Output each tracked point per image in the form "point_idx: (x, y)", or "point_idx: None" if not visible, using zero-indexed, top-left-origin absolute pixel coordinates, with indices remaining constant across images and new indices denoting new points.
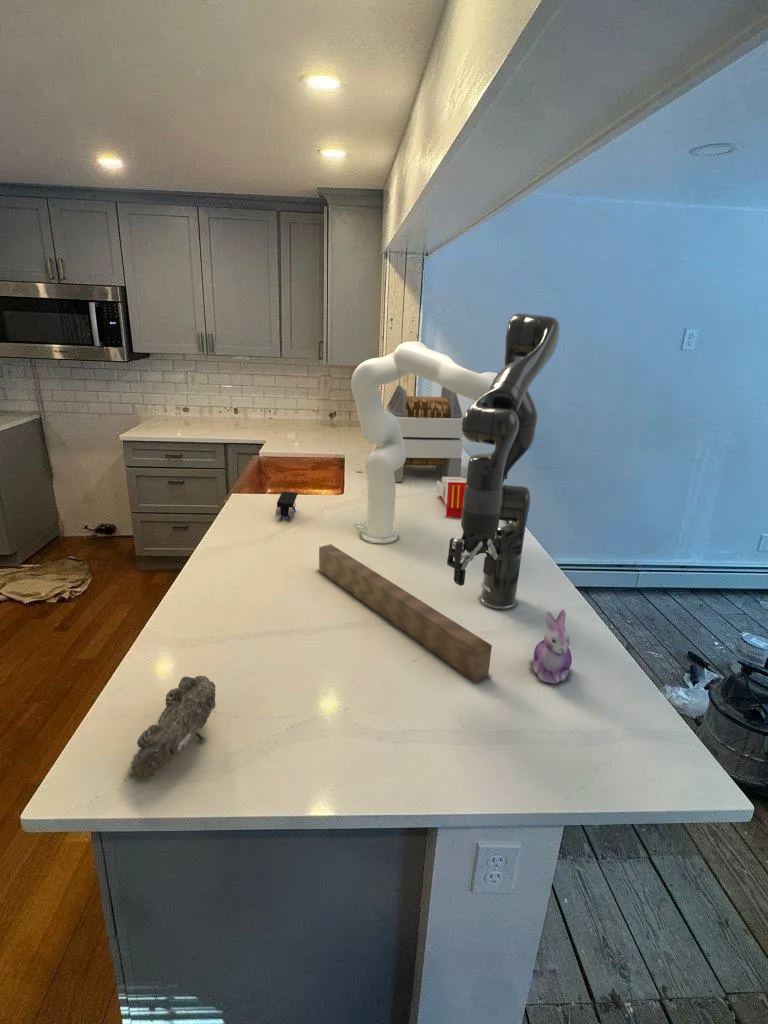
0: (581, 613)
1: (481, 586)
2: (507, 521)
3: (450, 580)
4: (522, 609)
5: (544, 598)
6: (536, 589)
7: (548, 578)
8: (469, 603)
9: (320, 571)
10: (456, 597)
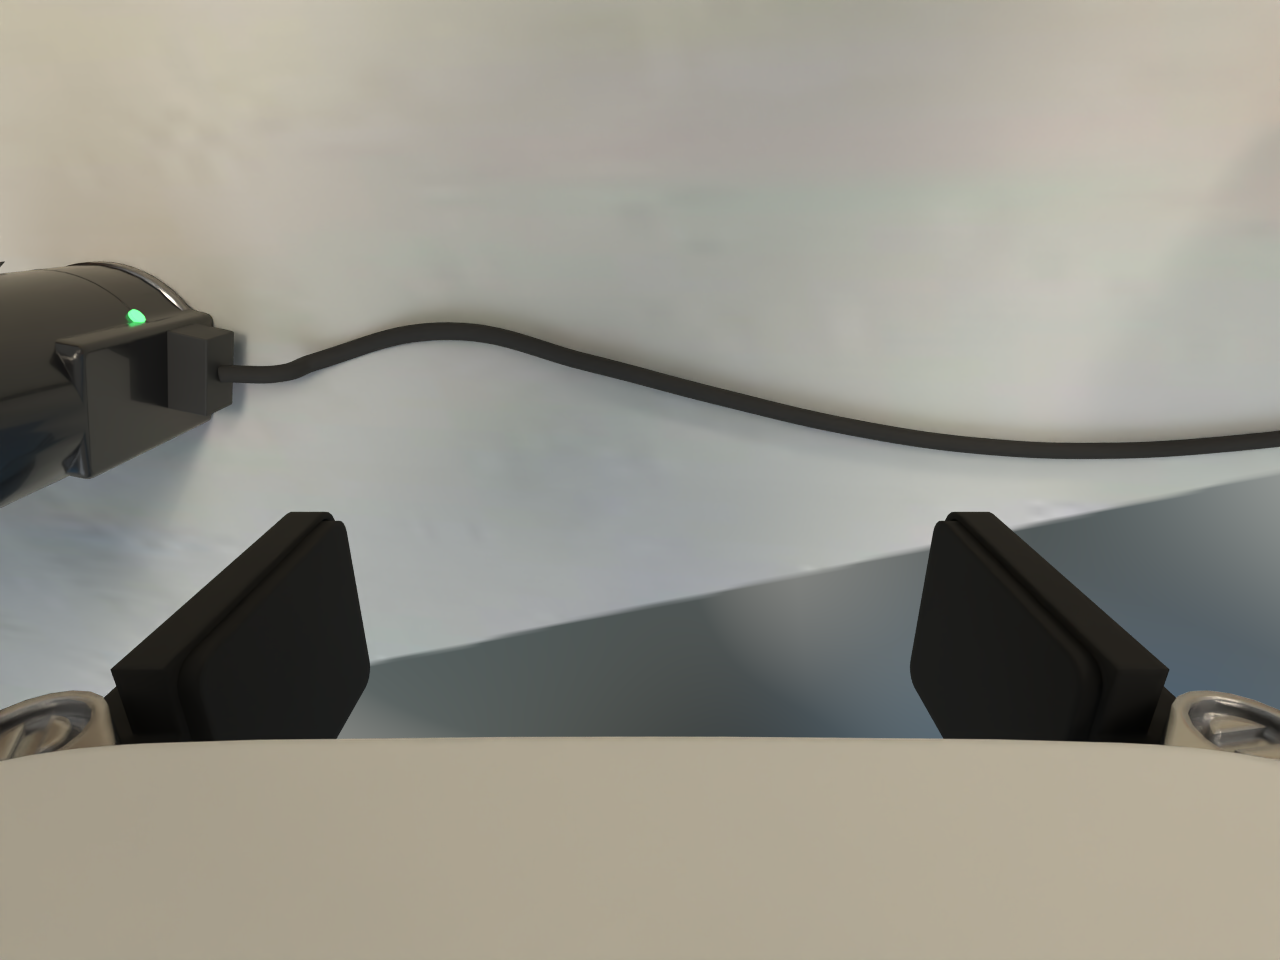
0: None
1: (2, 262)
2: (1247, 441)
3: (256, 68)
4: None
5: None
6: None
7: (487, 594)
8: (30, 199)
9: None
10: (58, 119)
